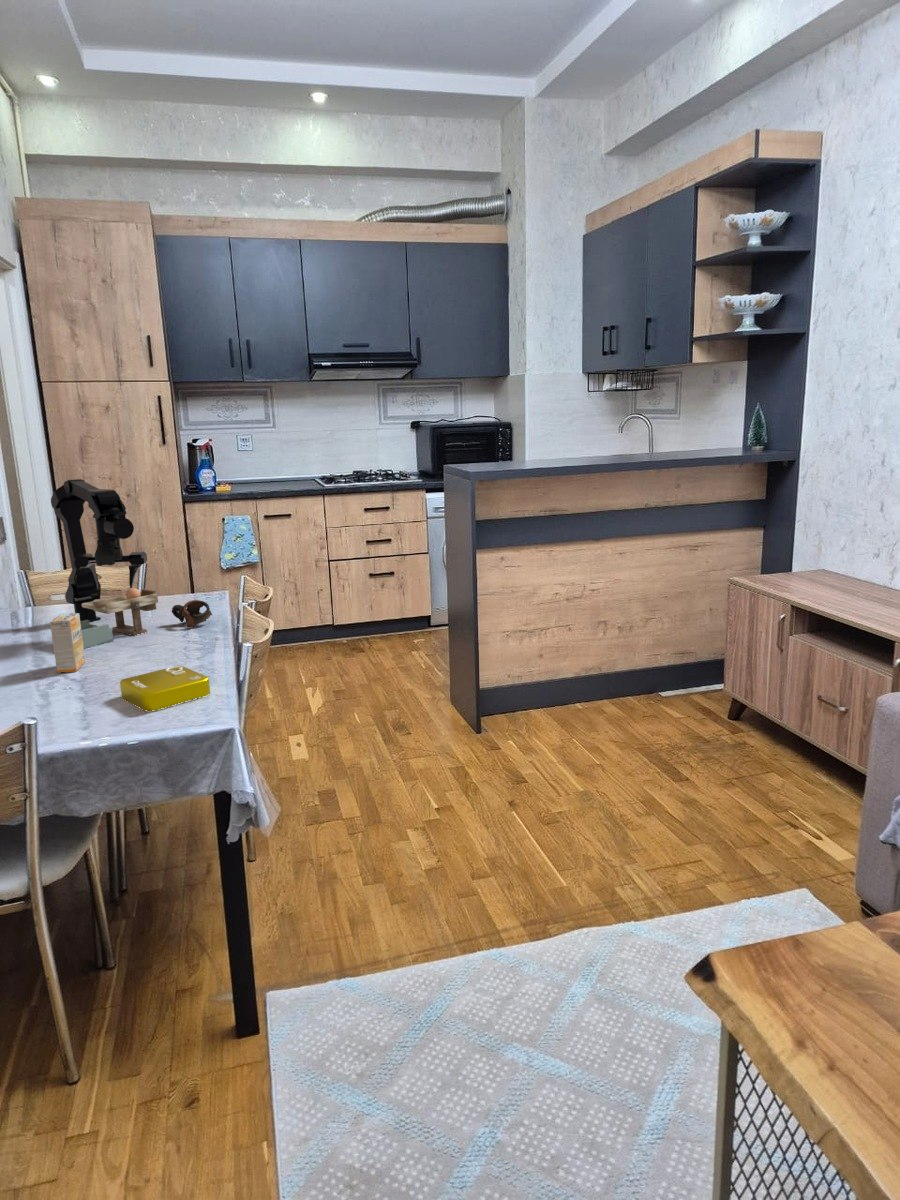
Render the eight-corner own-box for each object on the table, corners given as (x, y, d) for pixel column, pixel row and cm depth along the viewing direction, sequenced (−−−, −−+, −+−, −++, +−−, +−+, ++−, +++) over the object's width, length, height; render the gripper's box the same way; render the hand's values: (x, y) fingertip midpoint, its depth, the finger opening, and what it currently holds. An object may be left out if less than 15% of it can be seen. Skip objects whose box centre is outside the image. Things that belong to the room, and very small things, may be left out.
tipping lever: (129, 603, 243) (127, 586, 242) (158, 609, 234) (156, 591, 233) (79, 614, 230) (77, 596, 229) (108, 620, 222) (106, 602, 220)
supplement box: (77, 672, 195) (70, 620, 192) (56, 673, 194) (48, 621, 191) (86, 662, 203) (79, 612, 200) (66, 663, 202) (59, 613, 199)
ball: (123, 602, 231) (122, 588, 230) (136, 599, 234) (134, 586, 233) (131, 603, 228) (130, 590, 228) (144, 600, 232) (142, 587, 231)
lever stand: (125, 627, 236) (121, 596, 234) (146, 632, 229) (143, 600, 227) (112, 630, 233) (108, 599, 231) (134, 635, 226) (130, 603, 224)
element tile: (118, 698, 176) (116, 678, 175) (182, 681, 186) (180, 662, 185) (148, 715, 165) (145, 693, 164) (214, 696, 176) (212, 675, 174)
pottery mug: (215, 620, 244) (216, 600, 238) (205, 641, 236) (206, 621, 231) (175, 612, 243) (176, 591, 237) (165, 632, 235) (164, 612, 230)
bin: (56, 645, 219) (53, 627, 218) (92, 636, 228) (90, 619, 226) (77, 650, 213) (74, 632, 212) (113, 641, 221) (111, 623, 220)
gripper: (65, 541, 215) (72, 597, 219) (137, 538, 219) (143, 593, 223) (75, 534, 226) (82, 588, 230) (144, 532, 229) (150, 584, 233)
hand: (114, 588), depth 228 cm, fingers open, 9 cm apart
